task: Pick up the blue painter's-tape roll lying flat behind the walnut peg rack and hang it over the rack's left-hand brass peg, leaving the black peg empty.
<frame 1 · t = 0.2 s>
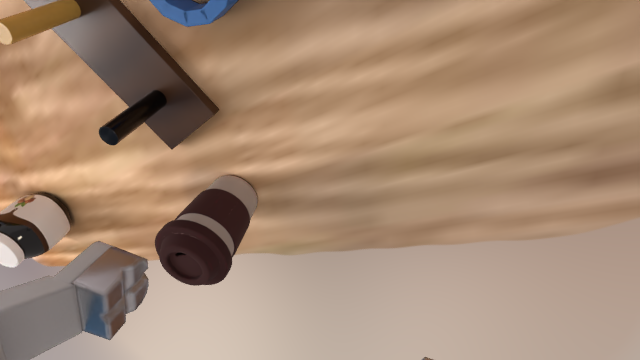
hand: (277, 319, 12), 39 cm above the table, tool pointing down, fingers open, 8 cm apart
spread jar: (53, 214, 81), on the table
peg rack: (124, 51, 55), on the table
coffee cup: (236, 193, 64), on the table
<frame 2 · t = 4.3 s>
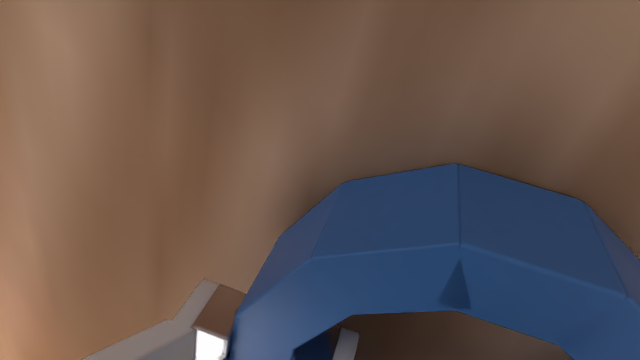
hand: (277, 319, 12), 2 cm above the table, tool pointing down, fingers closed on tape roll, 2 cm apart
tape roll: (440, 328, 13), on the table, touching gripper
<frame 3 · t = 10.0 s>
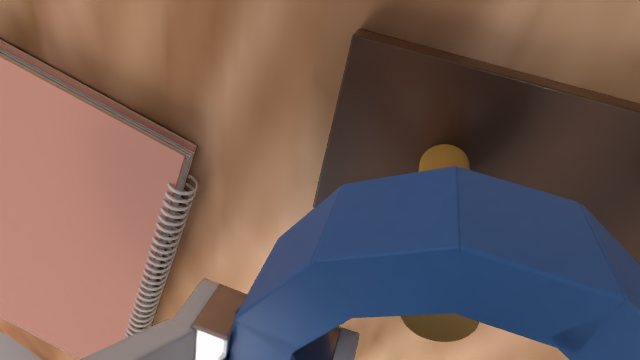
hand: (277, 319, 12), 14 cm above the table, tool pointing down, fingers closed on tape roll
tape roll: (439, 329, 13), point 12 cm above the table, touching gripper
peg rack: (579, 192, 22), on the table
notebook: (76, 232, 34), on the table
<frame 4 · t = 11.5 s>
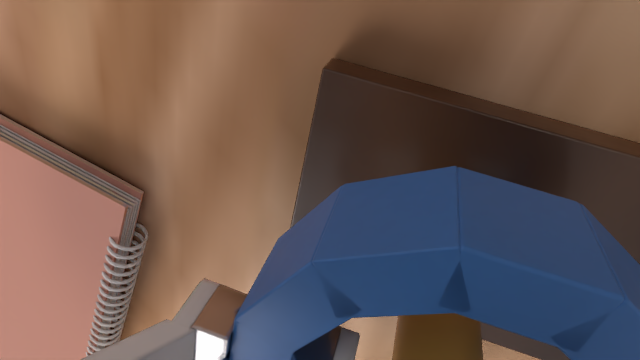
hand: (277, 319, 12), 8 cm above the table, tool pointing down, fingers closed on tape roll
tape roll: (439, 329, 13), point 6 cm above the table, touching gripper
peg rack: (611, 262, 18), on the table
notebook: (18, 280, 30), on the table
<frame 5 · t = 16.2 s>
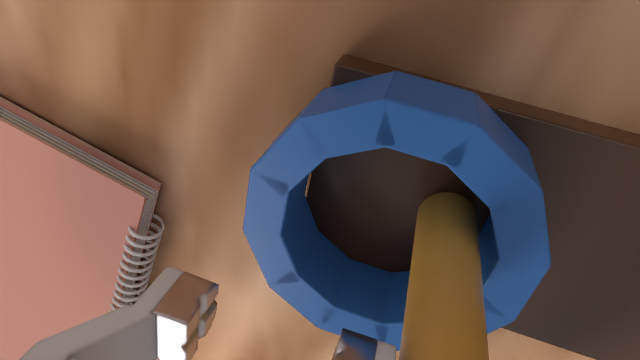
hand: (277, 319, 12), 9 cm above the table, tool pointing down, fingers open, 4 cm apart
tape roll: (393, 200, 18), point 1 cm above the table, touching peg rack
peg rack: (607, 247, 19), on the table
notebook: (36, 271, 31), on the table
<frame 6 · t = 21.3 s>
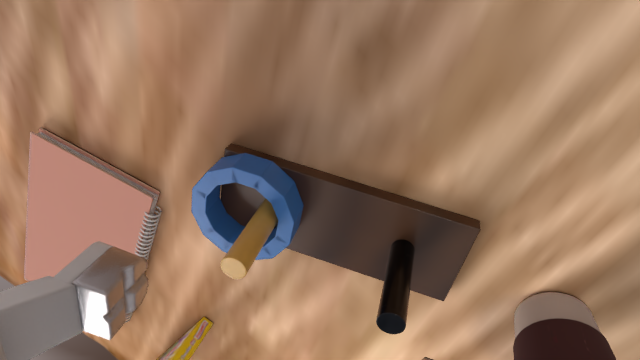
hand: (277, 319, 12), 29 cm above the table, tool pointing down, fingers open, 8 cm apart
tape roll: (253, 200, 46), point 1 cm above the table, touching peg rack
peg rack: (340, 219, 46), on the table
candy box: (183, 340, 64), on the table
coffee cup: (551, 314, 45), on the table
notebook: (93, 237, 58), on the table
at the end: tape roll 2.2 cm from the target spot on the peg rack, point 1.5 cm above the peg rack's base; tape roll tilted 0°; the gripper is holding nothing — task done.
